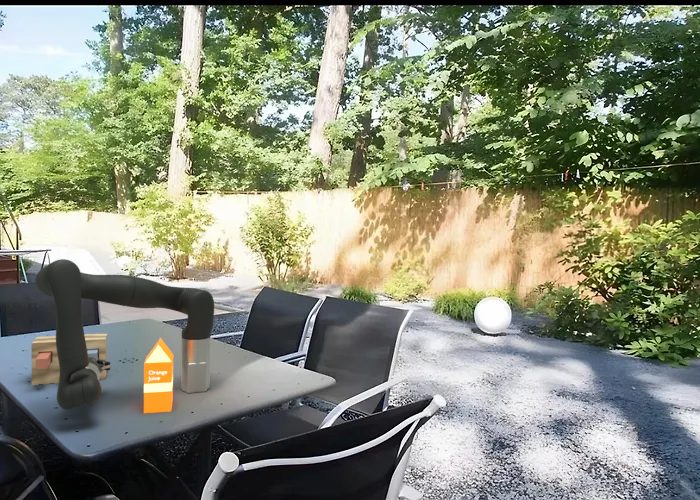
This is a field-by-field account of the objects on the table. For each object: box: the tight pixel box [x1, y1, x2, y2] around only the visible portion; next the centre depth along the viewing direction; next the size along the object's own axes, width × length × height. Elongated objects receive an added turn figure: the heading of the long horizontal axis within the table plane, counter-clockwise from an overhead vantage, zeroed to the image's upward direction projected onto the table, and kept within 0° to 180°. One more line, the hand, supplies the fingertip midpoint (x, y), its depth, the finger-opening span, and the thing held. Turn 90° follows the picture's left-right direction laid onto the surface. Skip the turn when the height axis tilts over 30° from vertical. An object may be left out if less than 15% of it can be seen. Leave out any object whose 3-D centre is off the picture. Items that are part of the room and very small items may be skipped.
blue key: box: [87, 348, 99, 361], centre depth 175 cm, size 11×3×3 cm, turn 22°
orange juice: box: [143, 337, 175, 414], centre depth 152 cm, size 8×9×20 cm
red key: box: [36, 351, 52, 369], centre depth 167 cm, size 11×3×3 cm, turn 22°
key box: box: [30, 332, 108, 386], centre depth 177 cm, size 10×22×14 cm, turn 112°
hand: (91, 360), depth 168 cm, fingers closed
